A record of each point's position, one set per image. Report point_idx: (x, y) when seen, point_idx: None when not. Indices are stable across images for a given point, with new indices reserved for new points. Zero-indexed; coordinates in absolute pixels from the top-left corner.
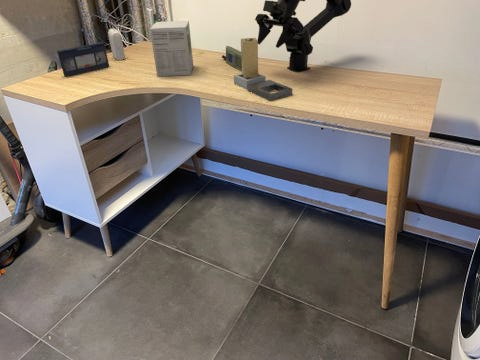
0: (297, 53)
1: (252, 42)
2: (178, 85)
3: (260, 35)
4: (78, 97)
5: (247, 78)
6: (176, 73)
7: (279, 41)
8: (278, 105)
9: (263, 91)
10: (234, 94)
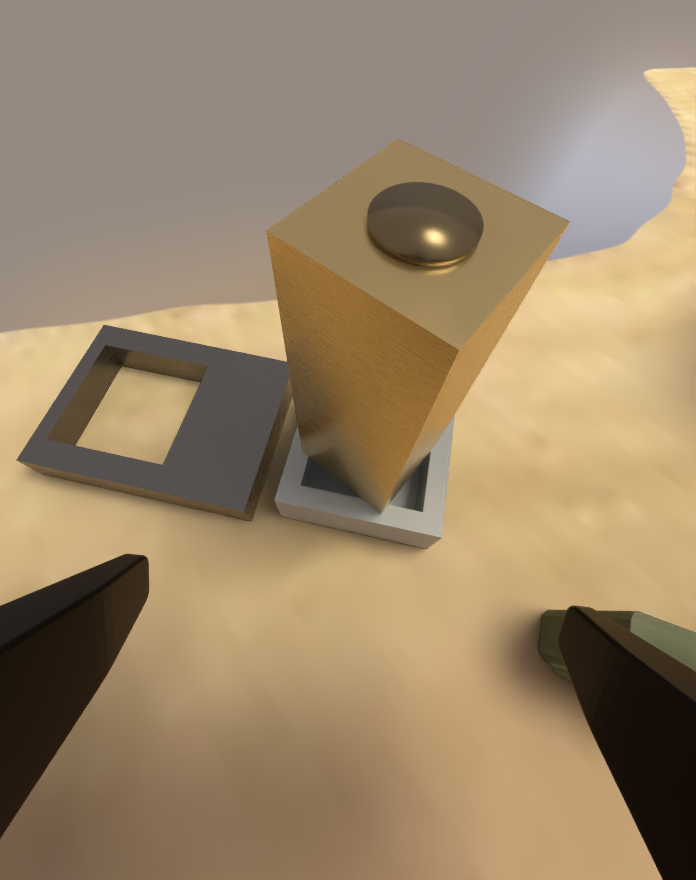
0: None
1: (320, 208)
2: (606, 274)
3: (693, 712)
4: (681, 97)
5: (418, 488)
6: None
7: (33, 594)
8: (58, 332)
9: (161, 341)
10: None
